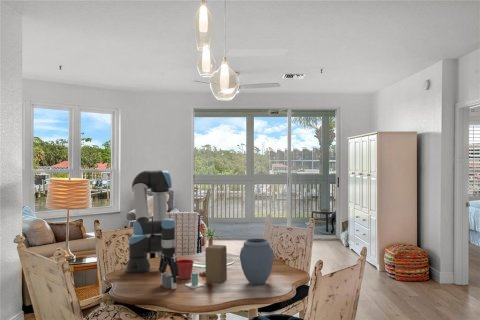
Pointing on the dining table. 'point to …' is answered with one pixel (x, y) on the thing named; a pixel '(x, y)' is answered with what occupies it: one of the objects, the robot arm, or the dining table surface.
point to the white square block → (194, 281)
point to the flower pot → (184, 268)
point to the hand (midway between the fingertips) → (168, 286)
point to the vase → (256, 260)
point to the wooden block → (216, 263)
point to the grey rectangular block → (166, 280)
